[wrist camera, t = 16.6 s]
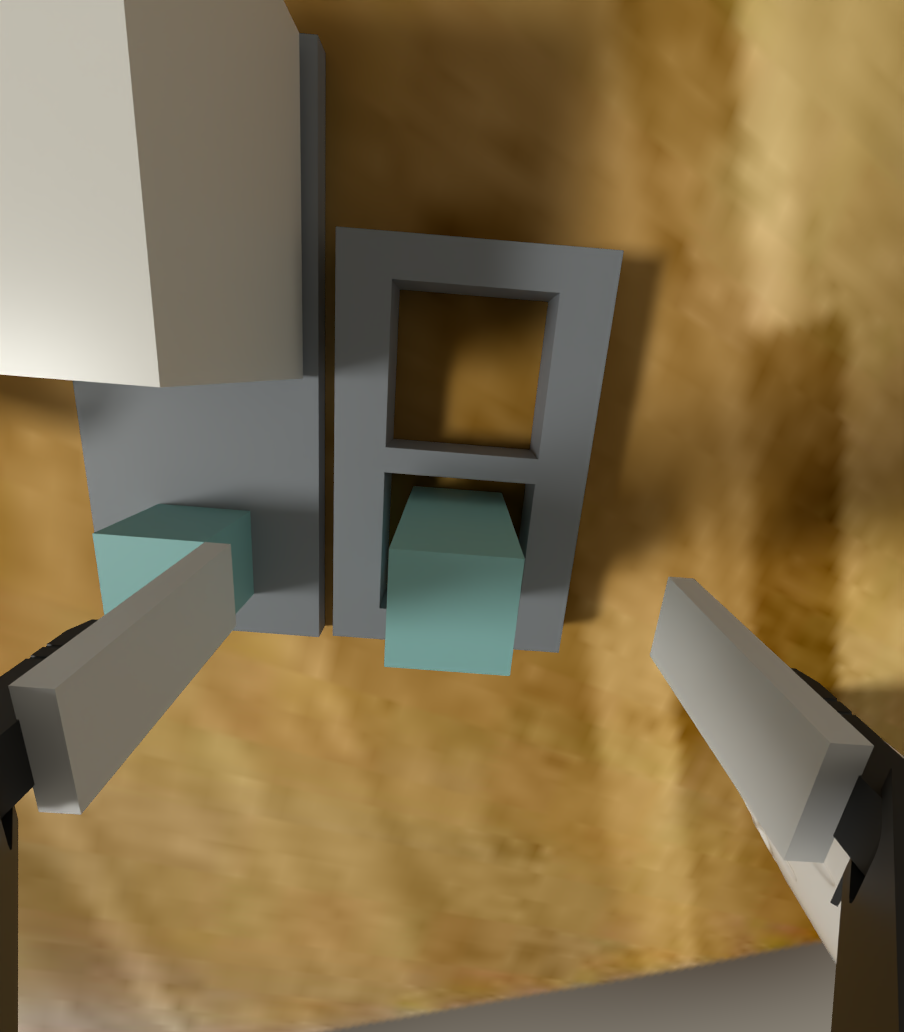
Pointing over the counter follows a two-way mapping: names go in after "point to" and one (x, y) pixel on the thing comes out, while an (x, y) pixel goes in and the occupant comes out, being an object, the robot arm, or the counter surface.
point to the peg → (453, 583)
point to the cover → (150, 191)
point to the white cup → (815, 886)
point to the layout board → (225, 450)
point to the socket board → (544, 468)
